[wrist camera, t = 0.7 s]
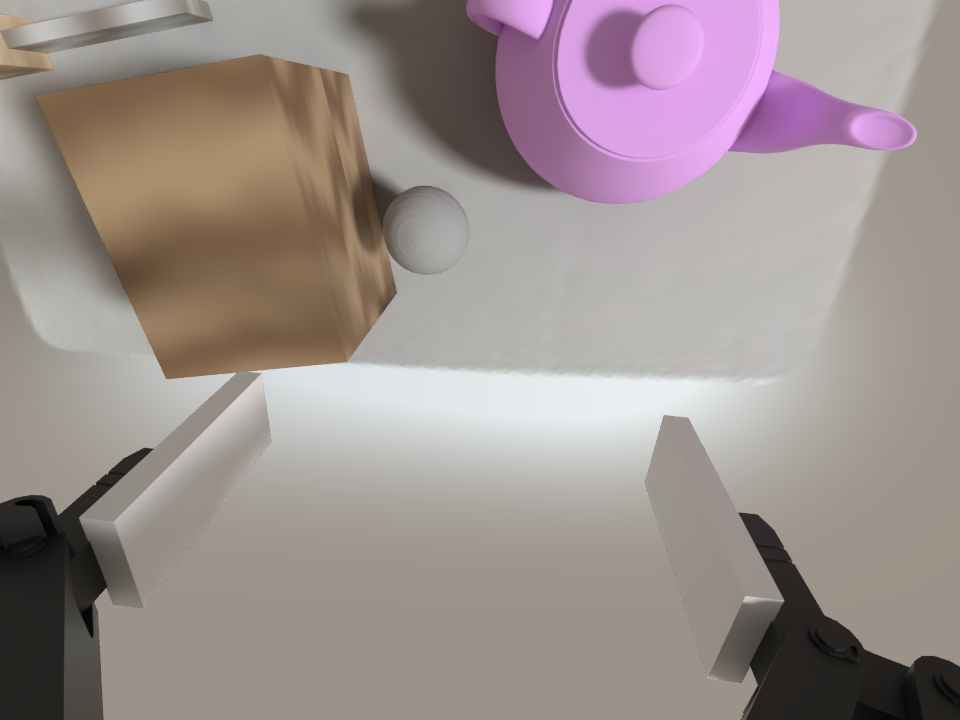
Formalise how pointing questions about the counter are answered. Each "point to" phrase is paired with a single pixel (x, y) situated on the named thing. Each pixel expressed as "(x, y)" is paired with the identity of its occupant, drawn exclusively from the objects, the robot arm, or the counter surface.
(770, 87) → the teapot
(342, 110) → the small wooden cabinet
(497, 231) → the counter surface
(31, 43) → the wood and metal l-shape
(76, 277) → the counter surface
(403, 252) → the light bulb
